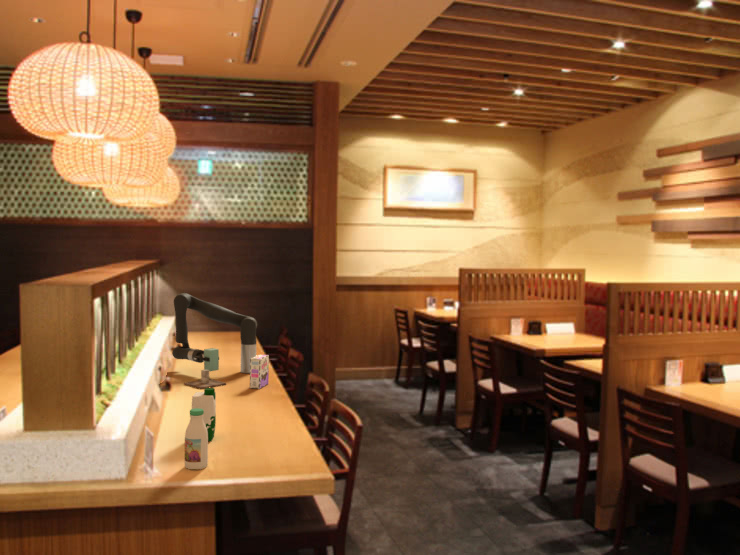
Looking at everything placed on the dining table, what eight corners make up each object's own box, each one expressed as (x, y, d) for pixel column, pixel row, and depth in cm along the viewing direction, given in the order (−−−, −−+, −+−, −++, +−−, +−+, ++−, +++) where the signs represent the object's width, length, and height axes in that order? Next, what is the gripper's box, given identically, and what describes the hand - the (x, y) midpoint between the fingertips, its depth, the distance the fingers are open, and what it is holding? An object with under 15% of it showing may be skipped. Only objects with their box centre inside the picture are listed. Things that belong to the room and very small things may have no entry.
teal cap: (212, 368, 367) (212, 348, 367) (218, 370, 363) (218, 349, 363) (204, 370, 363) (204, 349, 362) (210, 371, 359) (210, 350, 358)
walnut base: (208, 380, 358) (209, 366, 357) (226, 384, 347) (226, 370, 347) (184, 384, 346) (184, 370, 345) (201, 389, 335) (201, 374, 335)
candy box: (259, 389, 338) (260, 358, 338) (249, 388, 340) (249, 358, 339) (268, 384, 352) (269, 354, 351) (258, 383, 353) (259, 354, 352)
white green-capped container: (213, 442, 246) (213, 391, 245) (189, 442, 245) (190, 391, 244) (216, 435, 254) (217, 386, 254) (193, 435, 254) (194, 386, 253)
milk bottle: (197, 461, 224) (198, 405, 223) (212, 466, 219) (213, 409, 218) (179, 467, 217) (180, 409, 216) (194, 472, 213) (195, 413, 212)
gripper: (186, 350, 367) (203, 354, 356) (207, 347, 377) (224, 351, 366) (186, 363, 367) (203, 367, 356) (207, 360, 378) (224, 363, 367)
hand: (213, 359), depth 361 cm, fingers closed on teal cap, 5 cm apart
